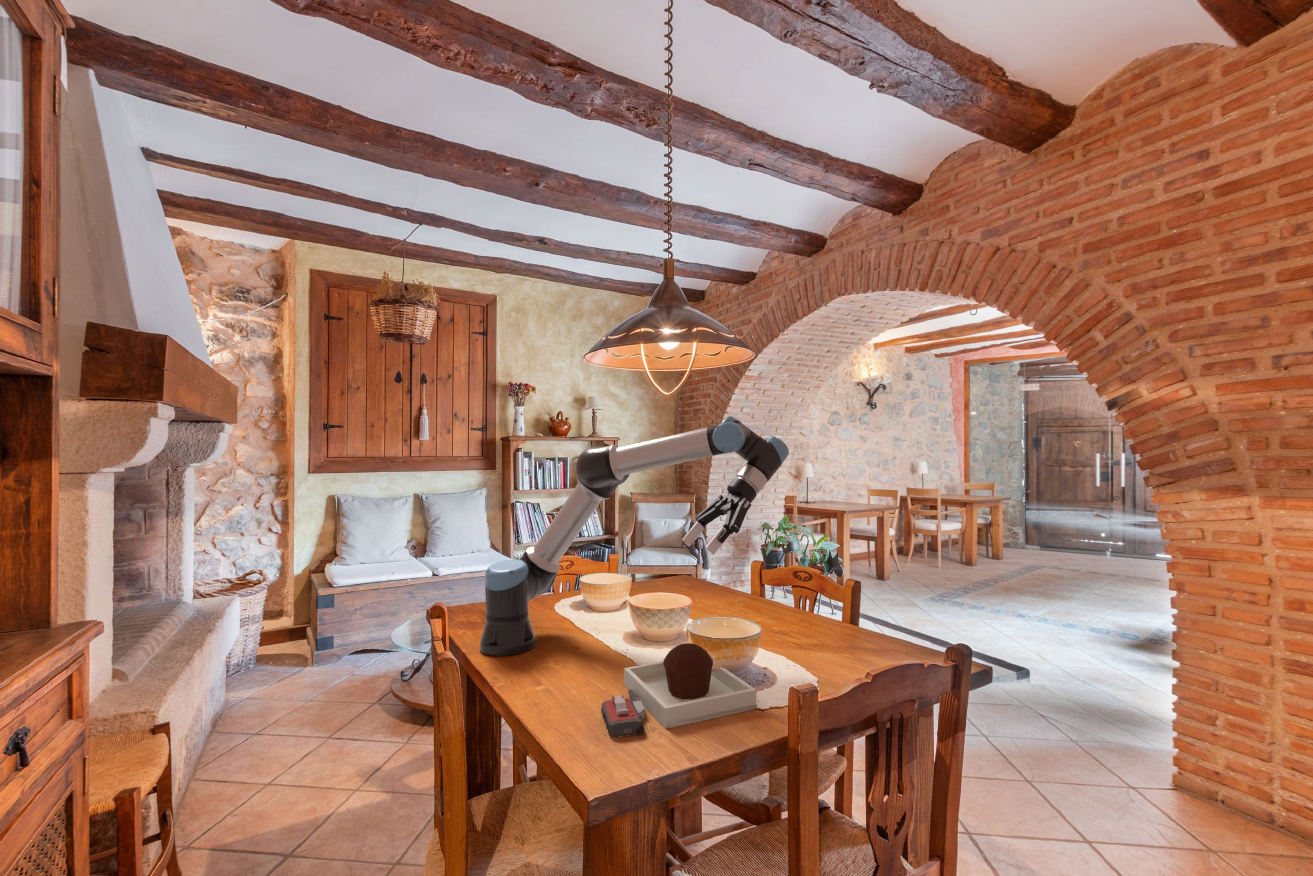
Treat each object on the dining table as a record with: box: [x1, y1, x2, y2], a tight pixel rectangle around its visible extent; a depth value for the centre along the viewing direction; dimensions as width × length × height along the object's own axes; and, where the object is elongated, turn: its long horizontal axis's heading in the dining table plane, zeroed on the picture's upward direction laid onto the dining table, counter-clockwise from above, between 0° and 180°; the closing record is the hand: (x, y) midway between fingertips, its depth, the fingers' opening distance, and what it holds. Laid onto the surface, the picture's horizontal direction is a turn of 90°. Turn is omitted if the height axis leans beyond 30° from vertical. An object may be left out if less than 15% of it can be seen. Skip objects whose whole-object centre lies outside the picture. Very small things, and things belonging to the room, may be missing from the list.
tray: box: [623, 661, 758, 729], centre depth 135 cm, size 24×21×4 cm
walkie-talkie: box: [600, 689, 646, 738], centre depth 126 cm, size 9×4×20 cm
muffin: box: [662, 642, 714, 699], centre depth 135 cm, size 12×11×10 cm
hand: (696, 547), depth 155 cm, fingers open, 13 cm apart
